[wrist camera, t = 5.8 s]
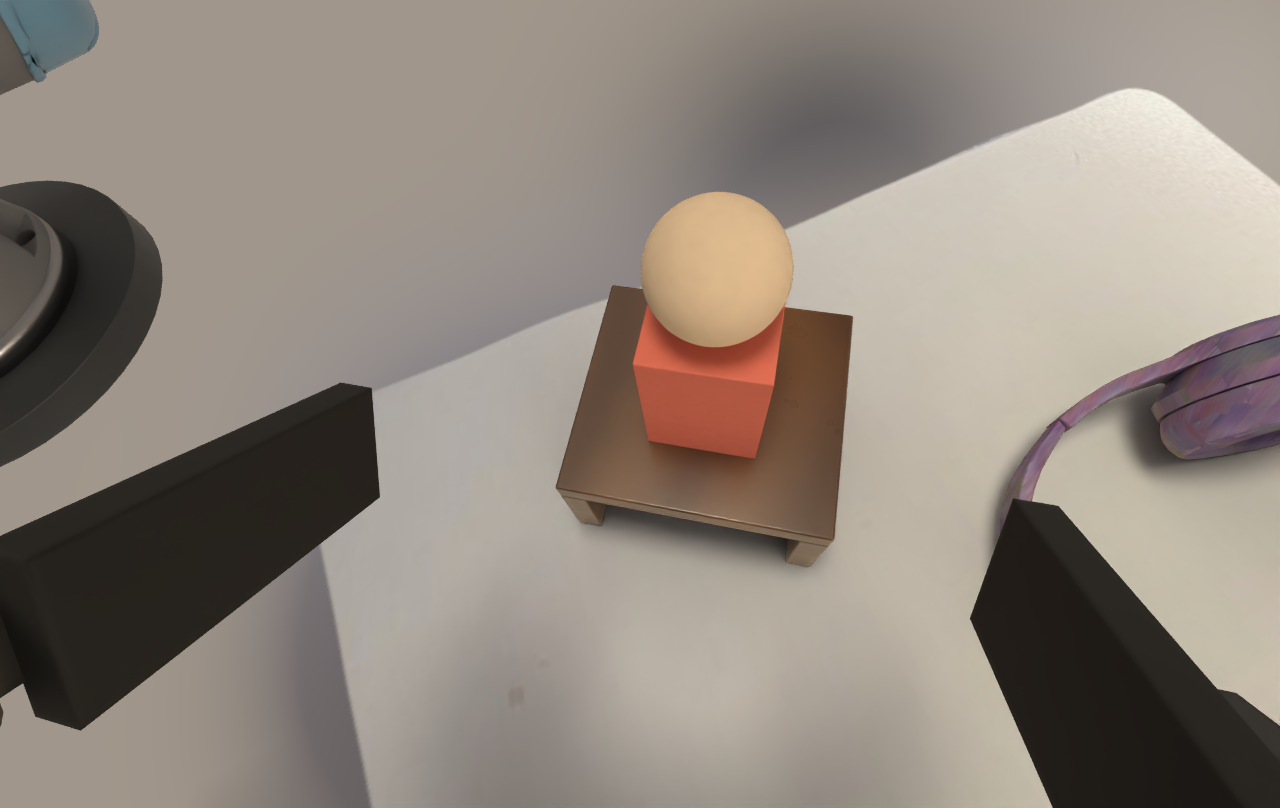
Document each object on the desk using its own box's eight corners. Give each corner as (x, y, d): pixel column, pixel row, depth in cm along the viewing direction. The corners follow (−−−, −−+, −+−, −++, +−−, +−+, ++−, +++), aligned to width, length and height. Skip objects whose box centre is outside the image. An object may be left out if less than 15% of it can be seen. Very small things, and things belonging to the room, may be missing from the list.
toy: (648, 441, 27) (615, 283, 16) (670, 342, 29) (653, 145, 18) (755, 459, 26) (794, 306, 16) (770, 356, 28) (813, 158, 18)
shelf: (579, 522, 32) (554, 488, 26) (625, 345, 36) (611, 284, 31) (809, 567, 30) (834, 541, 24) (828, 375, 34) (853, 315, 29)
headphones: (1184, 315, 33) (902, 538, 33) (1304, 225, 26) (939, 514, 25) (1575, 595, 26) (1223, 889, 25) (1900, 586, 18) (1411, 1003, 18)
